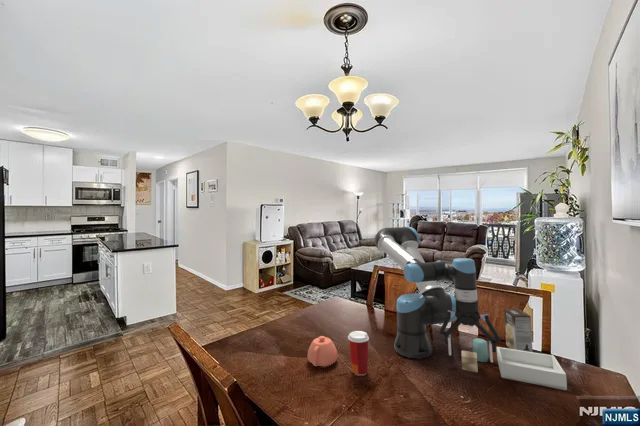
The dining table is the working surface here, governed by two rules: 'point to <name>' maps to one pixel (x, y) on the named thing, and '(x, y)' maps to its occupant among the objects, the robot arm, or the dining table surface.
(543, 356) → the tray
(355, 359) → the paper cup
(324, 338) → the sugar bowl
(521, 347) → the coffee box
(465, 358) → the beech cube
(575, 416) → the dining table surface
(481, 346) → the teal cylinder
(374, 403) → the dining table surface
